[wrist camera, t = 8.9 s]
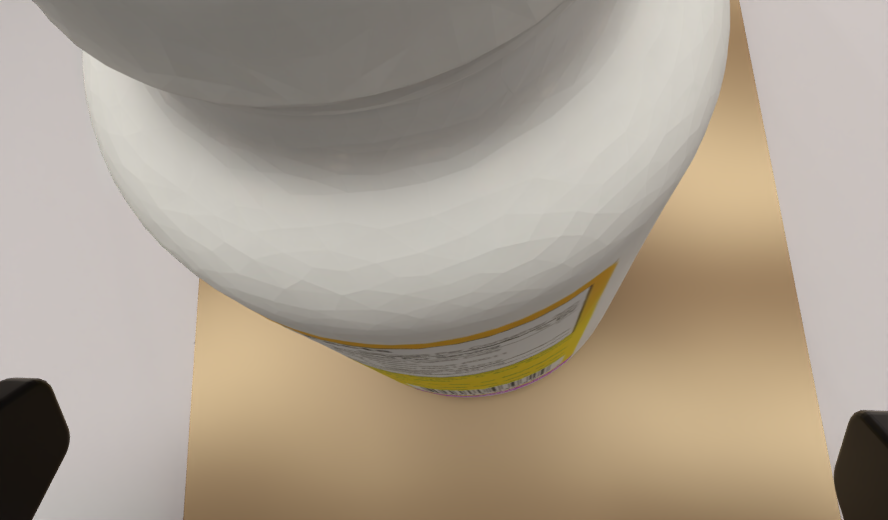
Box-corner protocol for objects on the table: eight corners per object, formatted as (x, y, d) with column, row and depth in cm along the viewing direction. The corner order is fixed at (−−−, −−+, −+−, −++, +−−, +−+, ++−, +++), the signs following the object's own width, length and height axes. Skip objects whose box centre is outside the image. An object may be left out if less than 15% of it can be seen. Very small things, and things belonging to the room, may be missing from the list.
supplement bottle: (449, 87, 17) (250, -844, 5) (670, 232, 15) (1258, -651, 3) (279, 287, 16) (-518, -232, 4) (494, 465, 14) (309, 573, 2)
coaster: (841, 566, 13) (850, 569, 13) (188, 580, 15) (179, 584, 14) (729, -13, 17) (734, -23, 17) (221, 43, 19) (215, 34, 18)
